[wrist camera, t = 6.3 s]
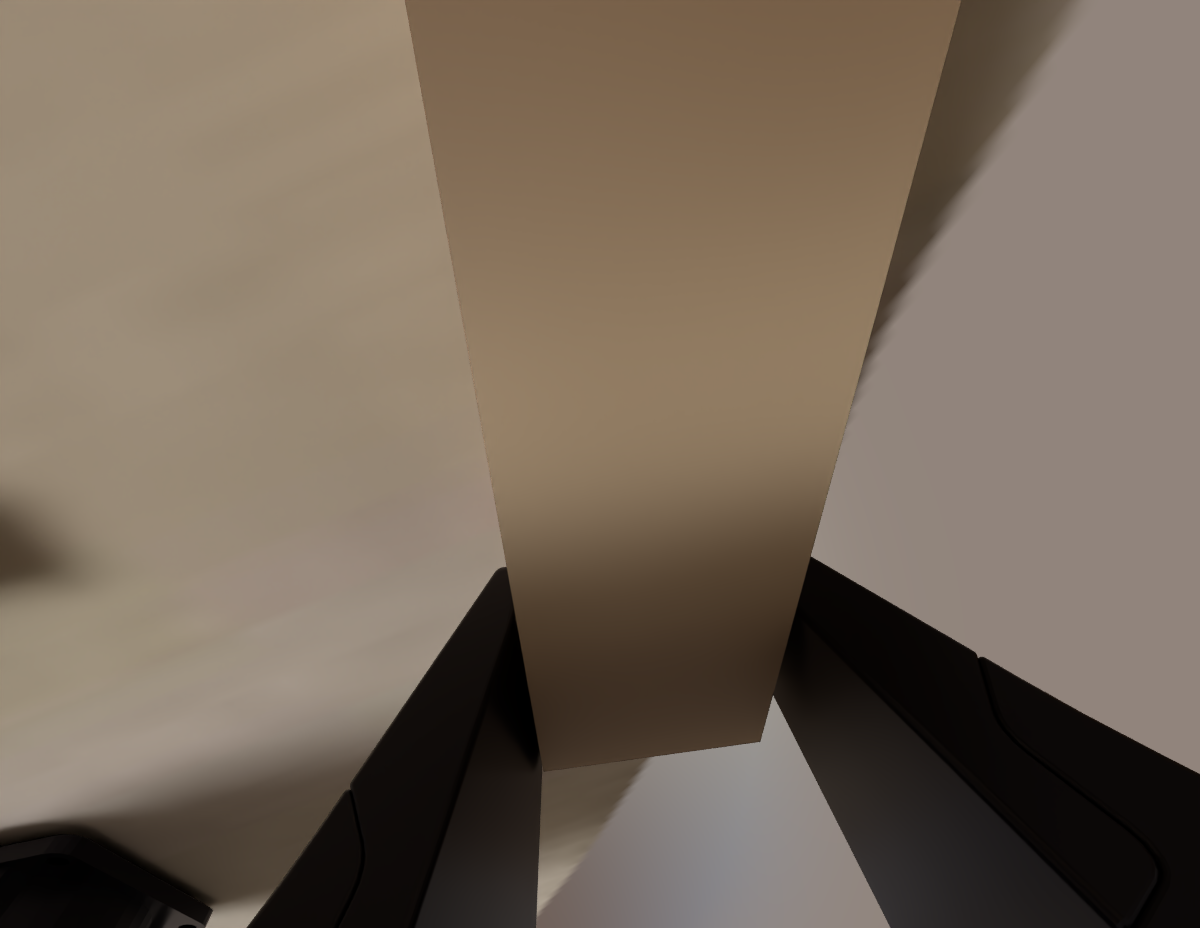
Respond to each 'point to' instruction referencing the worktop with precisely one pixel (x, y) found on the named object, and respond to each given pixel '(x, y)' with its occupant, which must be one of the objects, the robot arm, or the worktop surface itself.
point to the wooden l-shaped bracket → (667, 322)
